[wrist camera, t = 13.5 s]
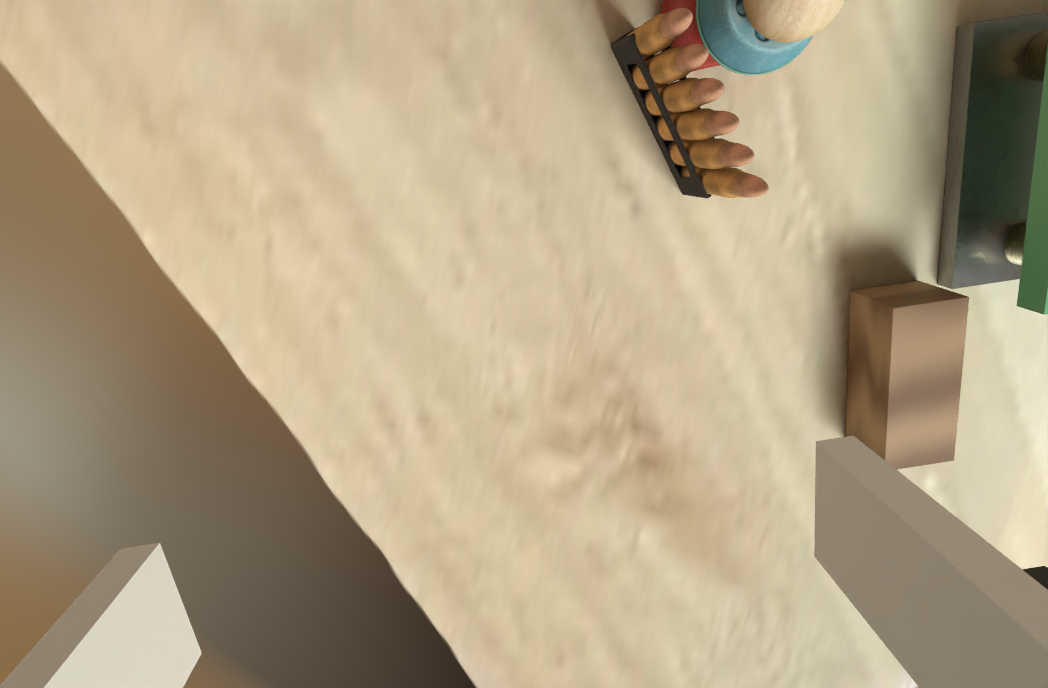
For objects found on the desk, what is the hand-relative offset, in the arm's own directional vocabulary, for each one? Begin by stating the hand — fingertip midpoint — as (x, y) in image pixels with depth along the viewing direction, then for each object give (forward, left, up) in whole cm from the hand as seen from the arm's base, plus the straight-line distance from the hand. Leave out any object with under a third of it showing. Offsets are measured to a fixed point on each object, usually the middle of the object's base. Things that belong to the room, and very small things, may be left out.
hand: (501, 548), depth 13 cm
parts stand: (+12, +28, -32) cm, 44 cm away
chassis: (-2, +37, -32) cm, 49 cm away
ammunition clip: (-8, +13, -32) cm, 35 cm away
